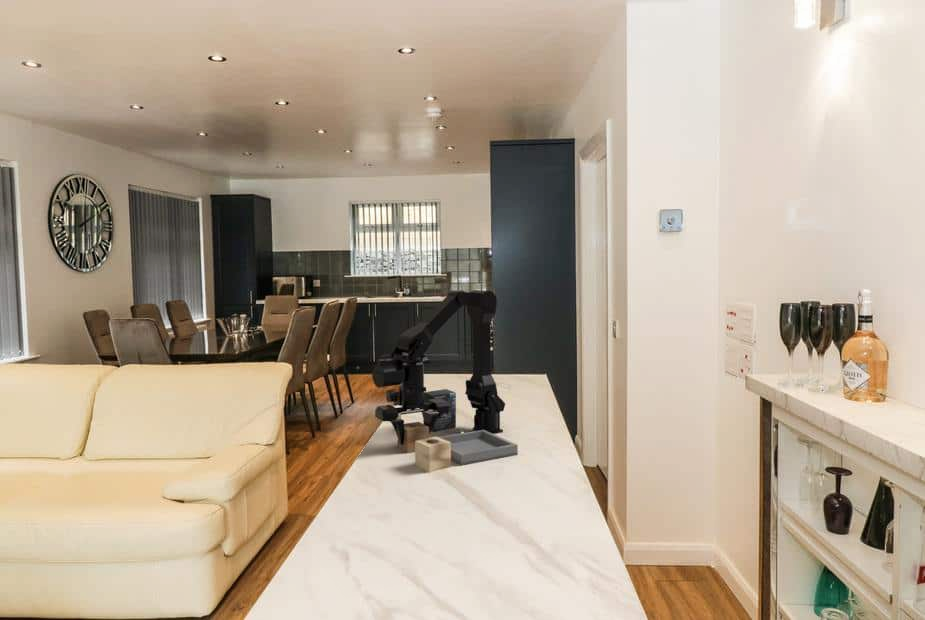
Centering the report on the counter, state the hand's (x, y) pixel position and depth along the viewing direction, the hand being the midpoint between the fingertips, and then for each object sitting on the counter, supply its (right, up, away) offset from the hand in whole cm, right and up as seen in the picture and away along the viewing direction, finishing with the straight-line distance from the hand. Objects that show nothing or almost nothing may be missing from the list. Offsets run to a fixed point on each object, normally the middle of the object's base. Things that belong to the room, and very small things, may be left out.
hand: (413, 442), depth 163 cm
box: (+6, 0, +20) cm, 21 cm away
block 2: (+6, -3, -14) cm, 15 cm away
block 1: (0, -2, 0) cm, 2 cm away
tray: (+15, -2, -3) cm, 16 cm away
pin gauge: (+7, -1, +5) cm, 9 cm away
